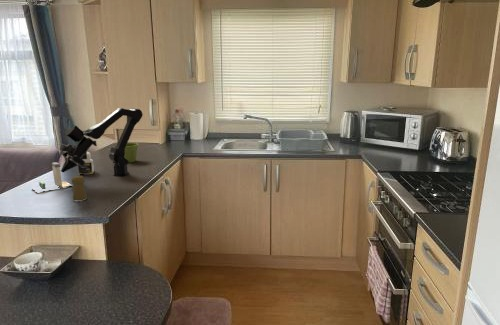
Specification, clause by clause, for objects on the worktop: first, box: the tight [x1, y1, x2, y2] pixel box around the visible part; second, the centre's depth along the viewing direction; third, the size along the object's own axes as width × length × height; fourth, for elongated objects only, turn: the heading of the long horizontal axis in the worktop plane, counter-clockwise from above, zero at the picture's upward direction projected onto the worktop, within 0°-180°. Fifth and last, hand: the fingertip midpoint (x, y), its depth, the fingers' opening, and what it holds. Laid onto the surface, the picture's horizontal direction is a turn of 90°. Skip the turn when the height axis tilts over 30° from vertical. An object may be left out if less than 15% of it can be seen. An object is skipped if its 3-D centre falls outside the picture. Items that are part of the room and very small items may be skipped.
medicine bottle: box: [77, 151, 95, 176], centre depth 209 cm, size 7×7×12 cm
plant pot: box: [124, 142, 139, 163], centre depth 237 cm, size 12×12×11 cm
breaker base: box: [38, 180, 73, 189], centre depth 182 cm, size 16×10×4 cm, turn 133°
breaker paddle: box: [51, 161, 63, 186], centre depth 183 cm, size 2×5×11 cm, turn 43°
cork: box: [71, 175, 88, 201], centre depth 163 cm, size 6×6×11 cm
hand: (61, 171), depth 184 cm, fingers closed
